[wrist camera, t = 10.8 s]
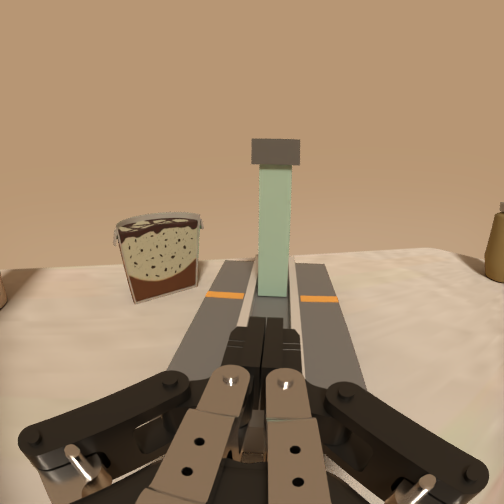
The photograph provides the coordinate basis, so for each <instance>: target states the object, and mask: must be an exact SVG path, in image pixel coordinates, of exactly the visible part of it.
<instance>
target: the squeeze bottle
mask: <svg viewBox="0 0 504 504" xmlns="http://www.w3.org/2000/svg"><path fill="white" fill-rule="evenodd" d="M500 211H502V212H500V213H497V214H495V217H494V221H493V226H492V230H491V233H490V237H489V241H488V245H487V248H486V252H485V274H486V276H487V277H489V278H491V279H493V280H495V281H498V282H503V283H504V203H503V202H501V203H500Z"/></svg>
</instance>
